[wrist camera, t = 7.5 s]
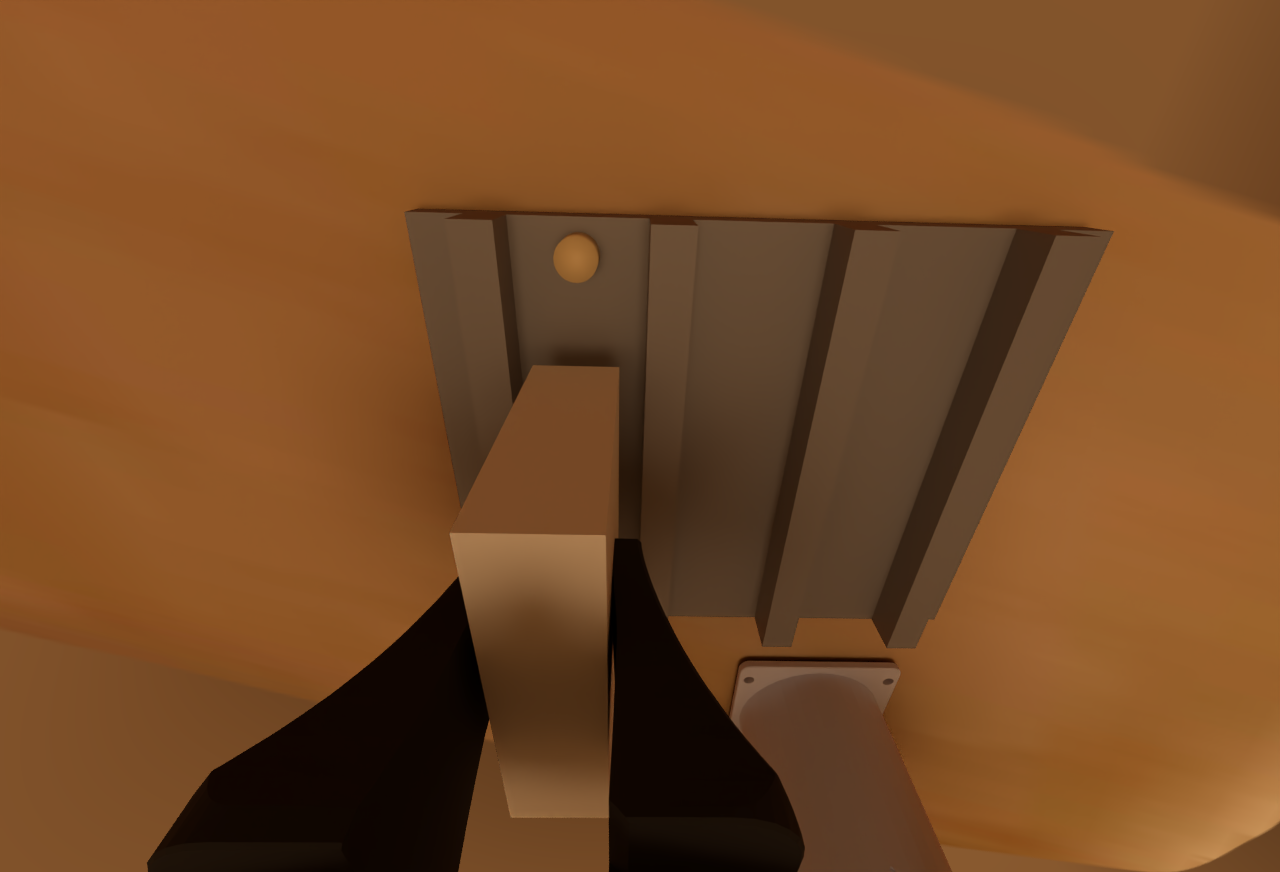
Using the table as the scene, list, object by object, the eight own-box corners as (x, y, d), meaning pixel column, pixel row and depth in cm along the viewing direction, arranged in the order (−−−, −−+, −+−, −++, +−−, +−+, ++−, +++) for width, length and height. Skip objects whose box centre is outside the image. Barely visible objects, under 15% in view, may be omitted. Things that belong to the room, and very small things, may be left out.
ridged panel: (922, 601, 23) (953, 648, 20) (487, 595, 22) (470, 642, 20) (1085, 227, 15) (1163, 238, 13) (418, 208, 14) (379, 216, 12)
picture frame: (618, 595, 18) (608, 817, 12) (549, 594, 18) (505, 817, 12) (619, 367, 14) (605, 535, 8) (528, 365, 14) (440, 532, 8)
